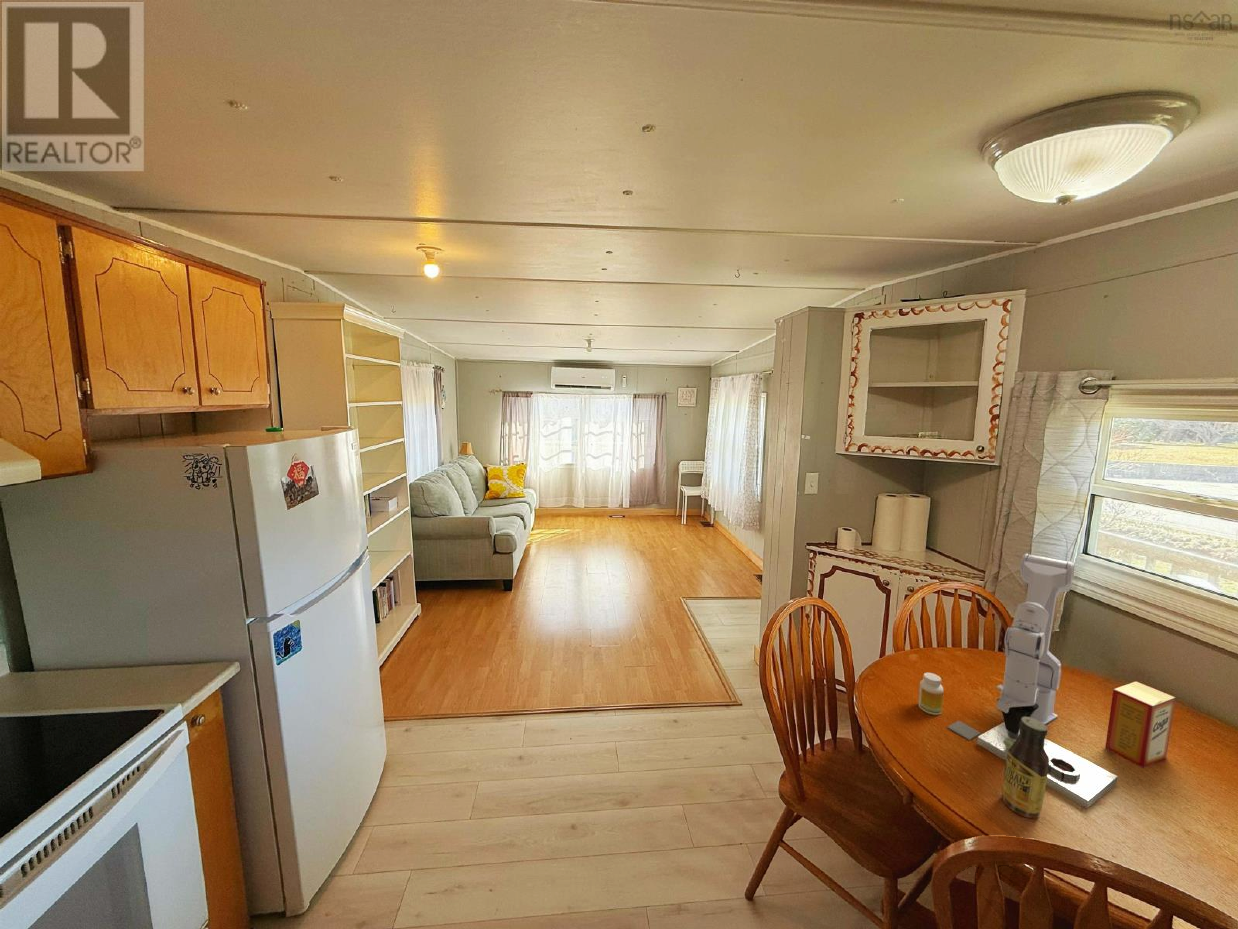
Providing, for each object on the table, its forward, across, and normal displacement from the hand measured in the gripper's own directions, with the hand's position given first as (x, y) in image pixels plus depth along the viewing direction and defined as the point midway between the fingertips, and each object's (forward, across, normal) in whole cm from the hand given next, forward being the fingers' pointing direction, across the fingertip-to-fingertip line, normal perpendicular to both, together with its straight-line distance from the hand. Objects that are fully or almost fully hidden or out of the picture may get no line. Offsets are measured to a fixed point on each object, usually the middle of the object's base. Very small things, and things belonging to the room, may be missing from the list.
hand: (1014, 729), depth 107 cm
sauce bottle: (+6, +17, +9) cm, 20 cm away
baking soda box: (+6, -26, +13) cm, 30 cm away
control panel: (+6, -2, +5) cm, 8 cm away
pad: (+5, 0, 0) cm, 5 cm away
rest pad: (+6, +3, -9) cm, 11 cm away
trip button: (+5, 0, +9) cm, 11 cm away
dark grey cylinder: (+2, 0, 0) cm, 2 cm away
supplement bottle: (+6, +2, -18) cm, 19 cm away
